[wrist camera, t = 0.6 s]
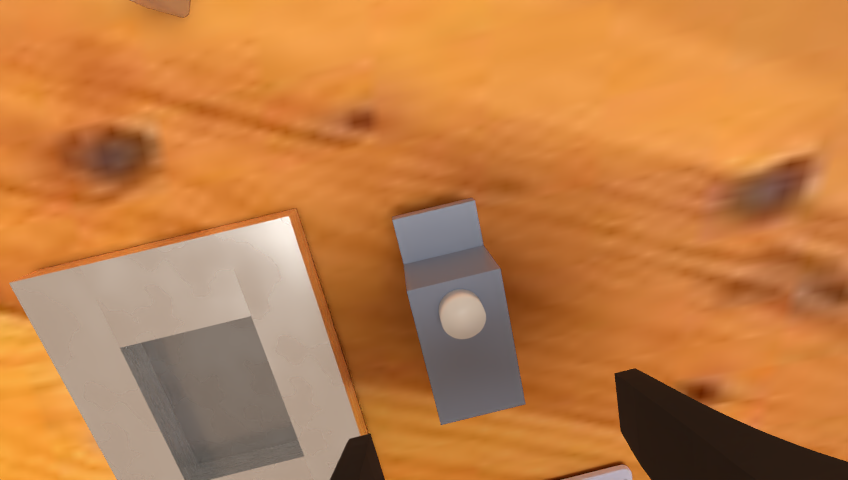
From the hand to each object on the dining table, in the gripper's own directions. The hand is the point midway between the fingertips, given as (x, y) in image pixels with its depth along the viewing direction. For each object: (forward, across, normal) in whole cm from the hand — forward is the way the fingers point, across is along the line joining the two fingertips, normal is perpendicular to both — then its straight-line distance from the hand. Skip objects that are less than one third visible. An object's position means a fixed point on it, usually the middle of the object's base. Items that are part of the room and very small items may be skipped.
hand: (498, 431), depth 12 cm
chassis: (+10, +12, +2) cm, 16 cm away
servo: (+10, 0, 0) cm, 10 cm away
